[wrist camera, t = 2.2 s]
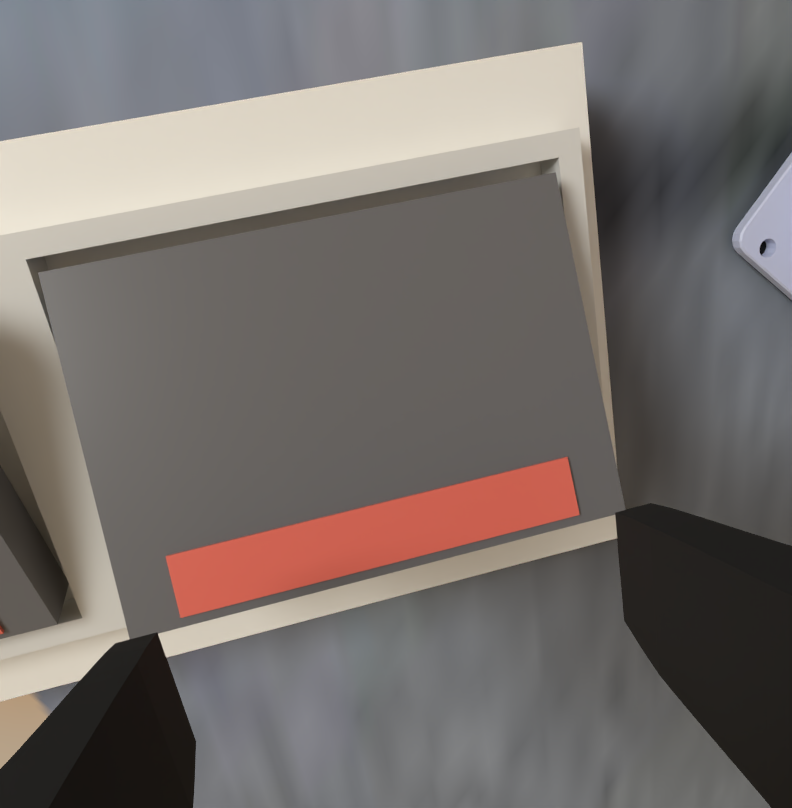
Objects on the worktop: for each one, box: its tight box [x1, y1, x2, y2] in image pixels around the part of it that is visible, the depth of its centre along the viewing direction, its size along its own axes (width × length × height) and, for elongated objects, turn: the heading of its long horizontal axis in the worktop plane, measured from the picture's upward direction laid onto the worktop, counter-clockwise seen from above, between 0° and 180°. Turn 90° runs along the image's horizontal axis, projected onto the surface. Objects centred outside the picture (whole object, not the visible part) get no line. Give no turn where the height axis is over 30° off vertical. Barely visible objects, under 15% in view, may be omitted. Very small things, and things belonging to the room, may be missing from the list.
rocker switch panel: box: [0, 42, 617, 701], centre depth 15 cm, size 25×12×4 cm, turn 101°
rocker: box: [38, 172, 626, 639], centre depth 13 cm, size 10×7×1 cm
